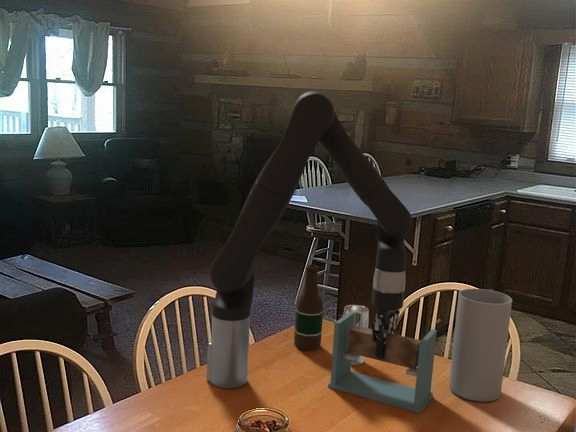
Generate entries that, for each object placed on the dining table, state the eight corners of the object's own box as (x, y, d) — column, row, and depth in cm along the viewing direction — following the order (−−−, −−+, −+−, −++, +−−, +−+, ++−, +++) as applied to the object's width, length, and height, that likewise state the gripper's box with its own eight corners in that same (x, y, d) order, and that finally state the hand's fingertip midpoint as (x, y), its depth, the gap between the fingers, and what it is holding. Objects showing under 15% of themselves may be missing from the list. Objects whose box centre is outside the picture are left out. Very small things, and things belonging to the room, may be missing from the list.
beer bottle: (308, 339, 186) (313, 261, 182) (326, 347, 180) (331, 267, 176) (288, 344, 181) (292, 264, 177) (305, 353, 175) (311, 270, 171)
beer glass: (338, 363, 170) (341, 310, 167) (342, 354, 176) (345, 303, 174) (363, 367, 168) (367, 314, 165) (366, 357, 175) (370, 306, 172)
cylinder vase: (485, 408, 148) (497, 307, 144) (439, 390, 157) (449, 294, 152) (509, 393, 157) (520, 297, 153) (463, 376, 166) (473, 285, 161)
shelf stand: (327, 387, 155) (332, 321, 152) (343, 373, 164) (348, 311, 161) (420, 413, 144) (427, 343, 141) (432, 396, 153) (439, 330, 150)
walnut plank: (347, 352, 155) (349, 329, 154) (353, 348, 158) (355, 325, 157) (414, 369, 147) (417, 345, 146) (419, 364, 150) (421, 340, 149)
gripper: (383, 277, 157) (378, 342, 160) (363, 291, 145) (357, 361, 148) (412, 283, 154) (406, 349, 157) (394, 297, 141) (388, 368, 144)
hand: (382, 354), depth 152 cm, fingers closed on walnut plank, 3 cm apart
